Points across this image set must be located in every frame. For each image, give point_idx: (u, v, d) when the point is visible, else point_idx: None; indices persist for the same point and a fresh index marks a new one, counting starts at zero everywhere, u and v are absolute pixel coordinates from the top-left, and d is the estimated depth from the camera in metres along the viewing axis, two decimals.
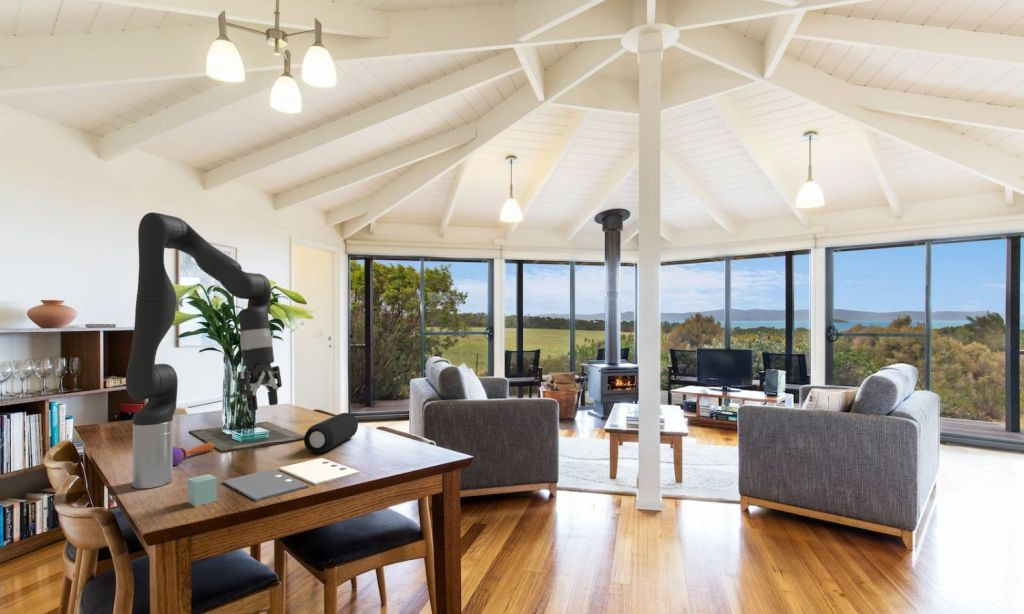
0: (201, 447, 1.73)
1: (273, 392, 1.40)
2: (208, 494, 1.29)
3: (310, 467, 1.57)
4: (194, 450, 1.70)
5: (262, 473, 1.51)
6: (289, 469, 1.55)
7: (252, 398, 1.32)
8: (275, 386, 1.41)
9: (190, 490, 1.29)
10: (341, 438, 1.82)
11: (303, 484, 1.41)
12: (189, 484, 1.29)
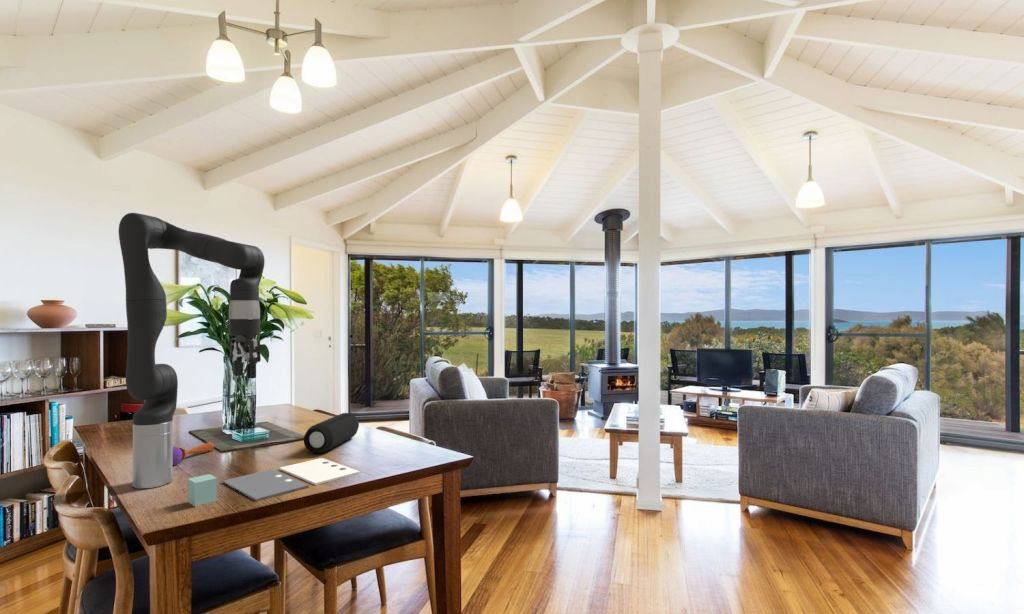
0: (201, 447, 1.73)
1: (241, 363, 1.43)
2: (208, 494, 1.29)
3: (310, 467, 1.57)
4: (194, 450, 1.70)
5: (262, 473, 1.51)
6: (289, 469, 1.55)
7: None
8: None
9: (190, 490, 1.29)
10: (341, 438, 1.82)
11: (303, 484, 1.41)
12: (189, 484, 1.29)
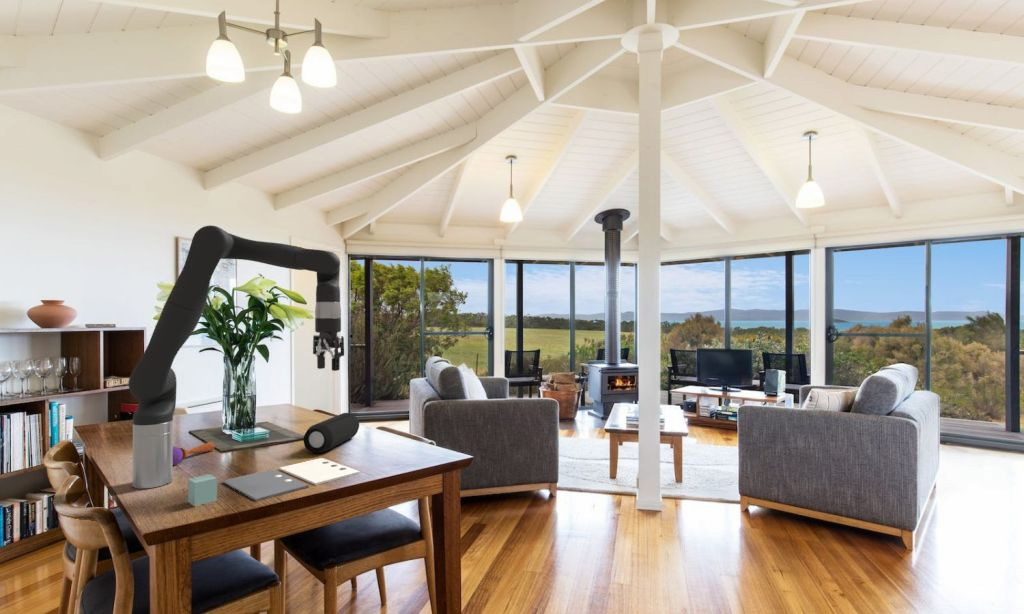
0: (201, 447, 1.74)
1: (323, 357, 1.62)
2: (208, 494, 1.29)
3: (310, 467, 1.57)
4: (194, 450, 1.71)
5: (262, 473, 1.51)
6: (289, 469, 1.55)
7: None
8: None
9: (190, 490, 1.29)
10: (341, 438, 1.82)
11: (303, 484, 1.41)
12: (189, 484, 1.29)
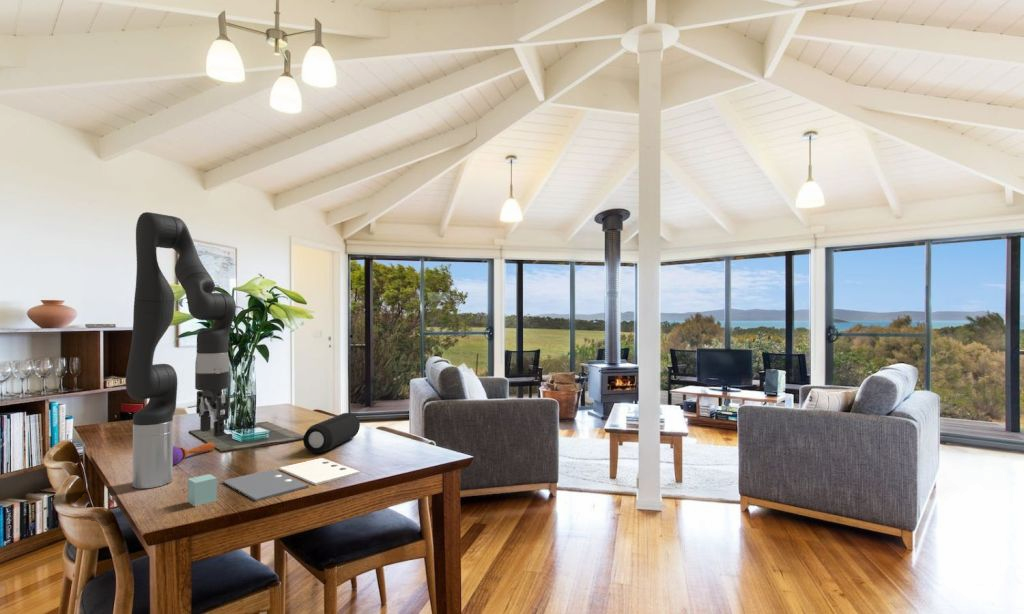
0: (202, 447, 1.74)
1: (208, 418, 1.35)
2: (208, 494, 1.29)
3: (310, 467, 1.57)
4: (194, 450, 1.71)
5: (262, 473, 1.51)
6: (289, 469, 1.55)
7: None
8: None
9: (190, 490, 1.29)
10: (341, 438, 1.82)
11: (303, 484, 1.41)
12: (189, 484, 1.29)
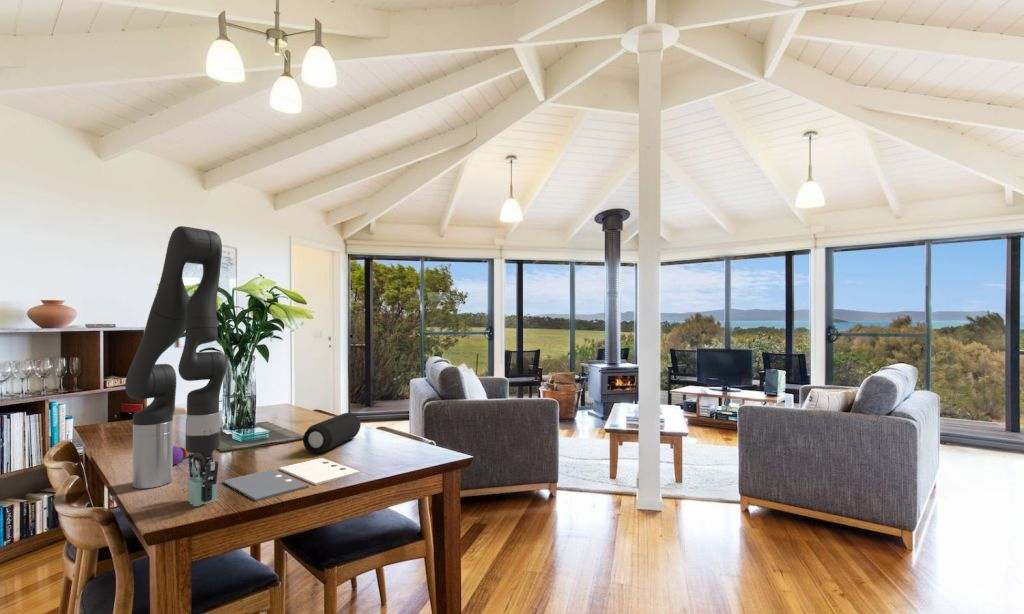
0: None
1: None
2: None
3: (310, 467, 1.57)
4: None
5: (262, 473, 1.51)
6: (289, 469, 1.55)
7: None
8: None
9: (190, 490, 1.29)
10: (341, 438, 1.82)
11: (303, 484, 1.41)
12: (189, 484, 1.29)
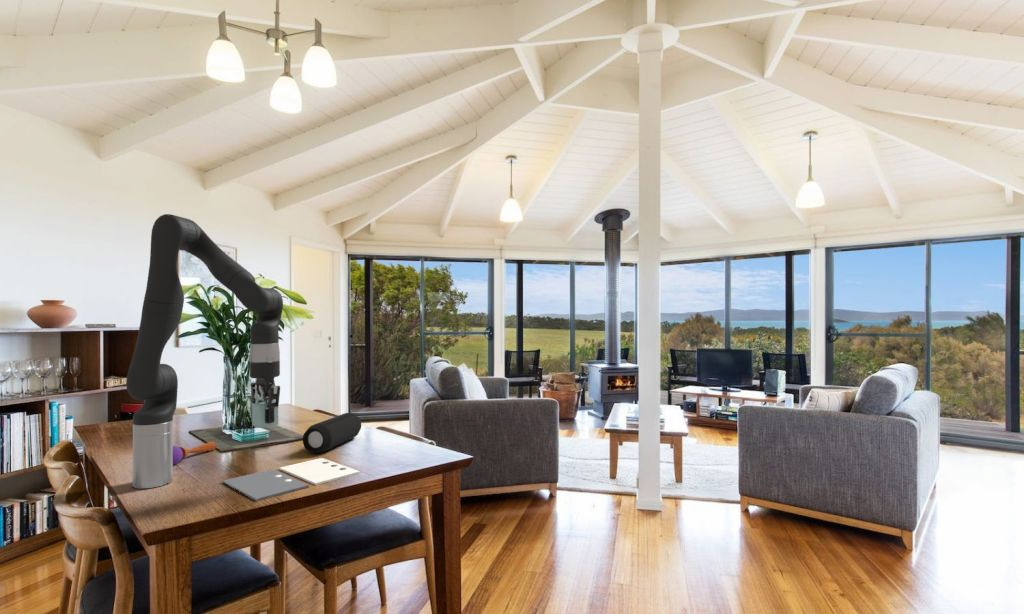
0: (202, 446, 1.74)
1: None
2: None
3: (310, 467, 1.57)
4: (195, 449, 1.71)
5: (262, 473, 1.51)
6: (289, 469, 1.55)
7: None
8: None
9: (254, 413, 1.41)
10: (341, 438, 1.82)
11: (303, 484, 1.41)
12: (253, 408, 1.41)
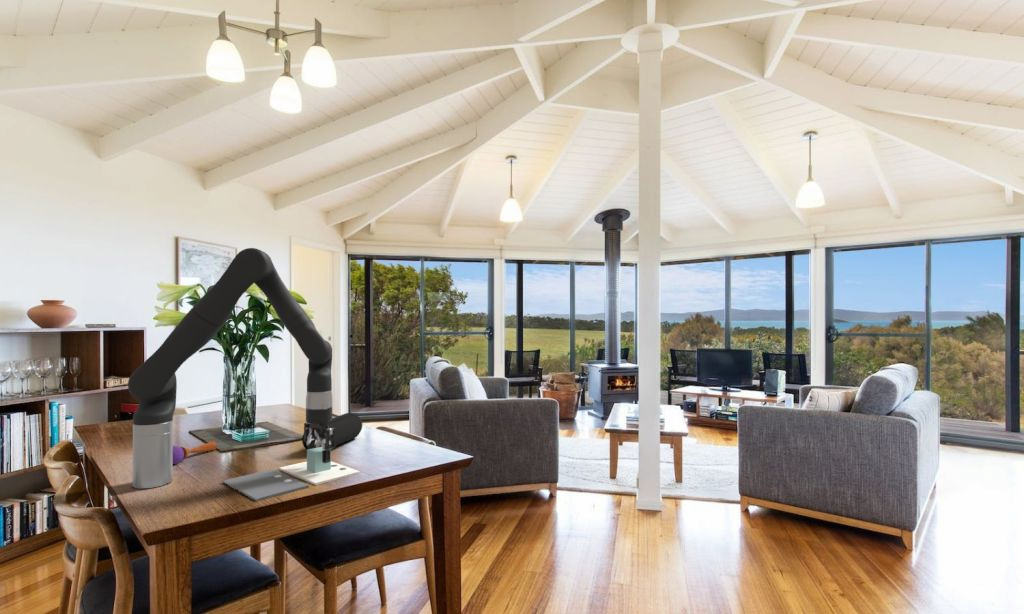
0: (203, 446, 1.74)
1: (314, 446, 1.58)
2: None
3: None
4: (196, 449, 1.71)
5: (262, 473, 1.51)
6: (289, 469, 1.55)
7: None
8: None
9: (309, 459, 1.53)
10: (341, 438, 1.82)
11: (303, 484, 1.41)
12: (308, 454, 1.54)
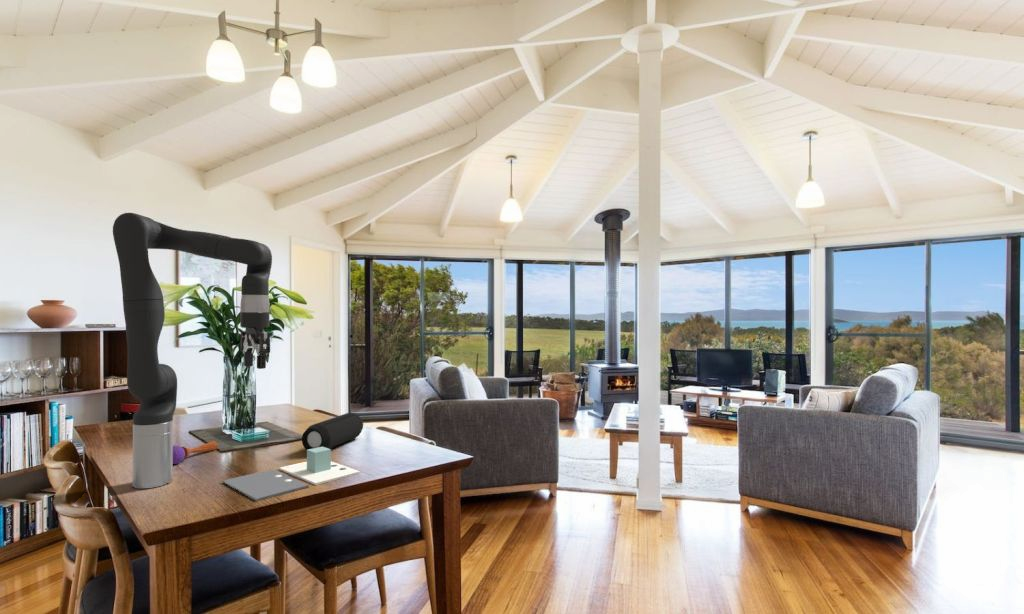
0: (204, 446, 1.75)
1: (251, 355, 1.51)
2: (325, 462, 1.54)
3: None
4: (197, 449, 1.72)
5: (262, 473, 1.51)
6: (289, 469, 1.55)
7: None
8: None
9: (309, 459, 1.53)
10: (341, 439, 1.81)
11: (303, 484, 1.41)
12: (308, 454, 1.54)
